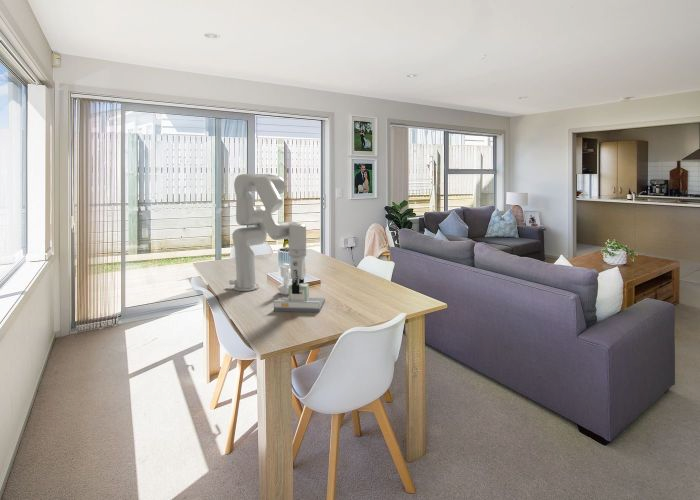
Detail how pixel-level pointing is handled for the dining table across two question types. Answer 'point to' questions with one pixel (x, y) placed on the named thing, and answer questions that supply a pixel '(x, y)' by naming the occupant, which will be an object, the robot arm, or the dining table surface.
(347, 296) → the dining table surface
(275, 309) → the grey flat box
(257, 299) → the dining table surface
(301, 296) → the tea box
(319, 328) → the dining table surface
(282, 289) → the figurine
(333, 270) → the dining table surface
